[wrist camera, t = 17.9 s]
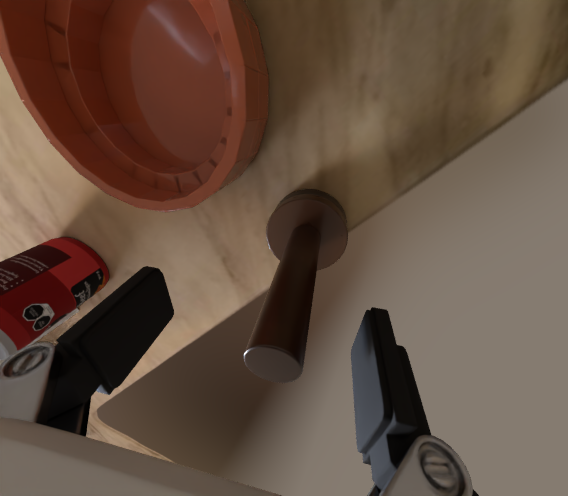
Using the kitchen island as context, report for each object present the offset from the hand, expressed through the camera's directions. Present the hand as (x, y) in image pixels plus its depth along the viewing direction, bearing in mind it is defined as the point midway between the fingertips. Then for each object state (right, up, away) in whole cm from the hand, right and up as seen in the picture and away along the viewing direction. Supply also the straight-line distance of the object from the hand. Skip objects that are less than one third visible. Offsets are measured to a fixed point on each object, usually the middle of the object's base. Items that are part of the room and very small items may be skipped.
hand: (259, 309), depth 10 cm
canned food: (-25, +1, +19) cm, 31 cm away
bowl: (-7, +14, +6) cm, 17 cm away
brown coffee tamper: (+3, +5, +9) cm, 11 cm away
